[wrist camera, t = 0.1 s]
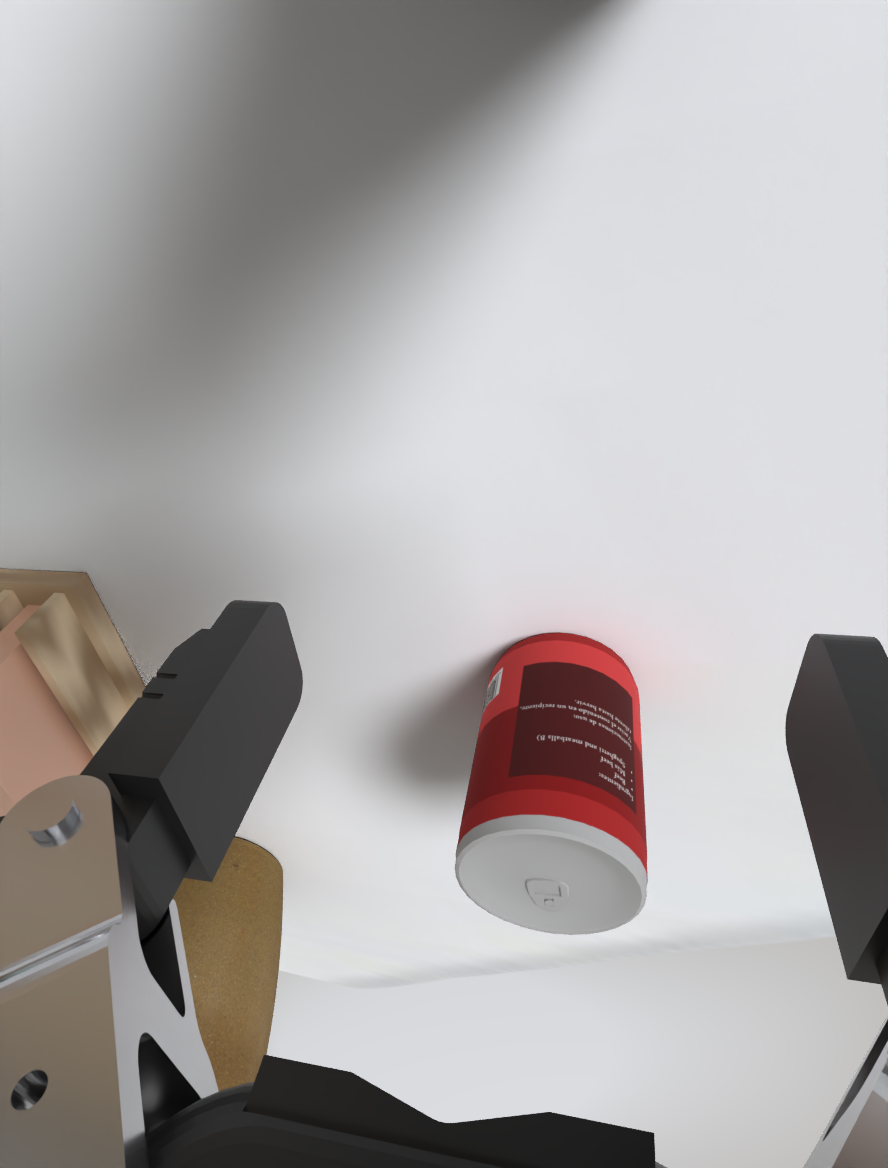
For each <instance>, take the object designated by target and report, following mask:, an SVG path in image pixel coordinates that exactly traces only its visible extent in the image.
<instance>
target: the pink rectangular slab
mask: <svg viewBox="0 0 888 1168" xmlns="http://www.w3.org/2000/svg"><path fill="white" fill-rule="evenodd" d="M39 607H40V606H39V605H27V606H26V607H25V608H24V609H23V610H22V611H21V612H20V613H19V614H18V615H17V616H16V617H15V618H14V619H13V620H12V621H11V622H10V623H9V624H8V625H7V626H6V627H5V628H4V629H3V630H2V631H1V632H0V817H1V816H6V815H7V813H8V812H9V811H10V810H11V809H12V808H13V807H14V806H15V804H16V803H18V802H19V801H20V800H21V799H22V798H24V797H25V796H26V795H28V794H29V793H30V792H32V791H33V790H35V789H37V788H39V787H40V786H42V785H44V784H46V783H49V782H51V781H53V780H56V779H59V778H63V777H67V776H73V775H80V773H81V772H82V771H83V770H84V769H85V767H86V766H87V765H88V763H89V762H90V761H91V759H92V758H93V757H94V756H93V754H92V753H91V751H90V750H89V748H88V747H87V745H86V744H85V742H84V740H83V739H82V737H81V736H80V734H79V733H78V731H77V730H76V728H75V726H74V725H73V723H72V722H71V720H70V719H69V717H68V716H67V714H66V712H65V711H64V709H63V708H62V706H61V705H60V703H59V702H58V700H57V698H56V697H55V695H54V694H53V692H52V691H51V689H50V688H49V686H48V684H47V683H46V681H45V680H44V678H43V677H42V675H41V674H40V672H39V670H38V669H37V667H36V666H35V664H34V663H33V661H32V660H31V658H30V656H29V655H28V653H27V652H26V650H25V649H24V647H23V646H22V644H21V642H20V641H19V639H18V638H17V636H16V635H15V632H16V631H17V630H18V629H19V627H20V626H21V625H22V624H23V623H24V622H25V621H26V620H27V619H28V618H29V617H30V616H31V615H32V614H33V613H34V612H35V611H36V610H37V609H38V608H39Z"/></svg>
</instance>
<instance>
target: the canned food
mask: <svg viewBox="0 0 888 1168" xmlns="http://www.w3.org/2000/svg"><path fill="white" fill-rule="evenodd" d="M455 872H456V878H457V880H458V882H459V885H460V887H461V888H462V889H463V891H464V892H465V893H466V895H467V896H468V897H469V898H470V899H471V900H473V901H474V902H475V903H476V904H477V905H478V906H480V907H481V908H483V909H484V910H486V911H487V912H489V913H490V914H493V915H495V916H497V917H499V918H501V919H503V920H505V921H507V922H510V923H513V924H516V925H518V926H521V927H525V928H528V929H532V930H536V931H542V932H548V933H554V934H569V935H573V934H591V933H598V932H604V931H607V930H611V929H614V928H617V927H619V926H621V925H623V924H626V923H628V922H629V921H631V920H632V919H633V918H634V917H636V916H637V915H638V914H639V913H640V911H641V910H642V908H643V907H644V904H645V900H646V896H647V894H646V887H647V883H648V879H647V845H646V825H645V804H644V784H643V764H642V744H641V724H640V704H639V694H638V688H637V686H636V683H635V681H634V679H633V676H632V674H631V672H630V670H629V668H628V666H627V665H626V664H625V662H624V661H623V660H622V658H621V657H619V656H618V655H617V654H616V653H615V652H614V651H613V650H611V649H610V648H608V647H607V646H605V645H603V644H602V643H600V642H597V641H595V640H593V639H590V638H588V637H584V636H579V635H575V634H567V633H548V634H541V635H537V636H532V637H529V638H527V639H524V640H522V641H520V642H518V643H516V644H515V645H514V646H512V647H511V648H509V649H508V650H507V651H506V652H505V653H504V654H503V656H502V657H501V658H500V660H499V661H498V663H497V664H496V666H495V668H494V669H493V671H492V673H491V675H490V679H489V683H488V687H487V692H486V698H485V703H484V708H483V713H482V718H481V723H480V728H479V734H478V739H477V744H476V749H475V754H474V759H473V765H472V770H471V775H470V780H469V785H468V790H467V795H466V801H465V806H464V811H463V816H462V821H461V826H460V833H459V840H458V845H457V850H456V864H455Z"/></svg>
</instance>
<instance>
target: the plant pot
mask: <svg viewBox="0 0 888 1168" xmlns="http://www.w3.org/2000/svg"><path fill="white" fill-rule="evenodd" d="M173 899H174V901H175V902H176V906H177V910H178V915H179V921H180V927H181V933H182V938H183V944H184V950H185V956H186V962H187V967H188V973H189V979H190V985H191V990H192V996H193V1002H194V1008H195V1014H196V1019H197V1024H198V1028H199V1032H200V1035H201V1038H202V1041H203V1044H204V1047H205V1049H206V1052H207V1054H208V1057H209V1059H210V1062H211V1065H212V1069H213V1072H214V1075H215V1079H216V1083H217V1087H218V1091H221V1090H224V1089H227V1088H231V1087H234V1086H238V1085H241V1084H245V1083H250V1082H255V1079H256V1076H257V1073H258V1070H259V1067H260V1065H261V1062H262V1059H263V1056H264V1055H266V1054H267V1048H268V1042H269V1036H270V1031H271V1023H272V1017H273V1010H274V1003H275V995H276V988H277V979H278V970H279V959H280V947H281V933H282V910H283V870H282V867H281V865H280V863H279V862H278V860H277V859H276V858H275V857H274V856H272V855H271V854H270V853H269V852H267V851H266V850H264V849H263V848H261V847H259V846H258V845H256V844H253V843H251V842H249V841H246V840H243V839H240V838H236V837H234V838H233V840H232V842H231V844H230V846H229V848H228V850H227V852H226V854H225V856H224V859H223V861H222V863H221V865H220V867H219V869H218V871H217V873H216V875H215V877H214V879H213V881H212V882H208V881H201V880H194V879H187V878H183V880H182V882H181V884H180V886H179V888H178V889H177V891H176V893H175V895H174V897H173Z"/></svg>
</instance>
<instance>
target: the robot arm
mask: <svg viewBox="0 0 888 1168" xmlns="http://www.w3.org/2000/svg"><path fill="white" fill-rule="evenodd" d="M302 685H303V678H302V670H301V666H300V663H299V659H298V655H297V652H296V648H295V645H294V641H293V638H292V634H291V631H290V627H289V623H288V620H287V616H286V613H285V610H284V608H283V607H282V605H281V604H279V603H277V602H260V601H242V600H234V601H232V602H231V603H229V604H228V605H227V607H226V608H225V609H224V611H223V612H222V613H221V615H220V616H219V618H218V619H217V620H216V622H215V623H214V625H213V626H212V627H211V629H201V630H199V631H198V632H197V633H195V634H194V635H193V636H191V637H190V638H189V639H187V640H186V641H185V642H183V643H182V644H181V645H179V646H178V647H176V648H175V649H174V650H173V652H172V653H171V654H170V656H169V657H168V658H167V660H166V661H165V662H164V664H163V665H162V666H161V668H160V669H159V670H158V672H157V677H156V678H155V677H153V678H152V680H151V681H150V682H149V684H148V685H147V686H146V688H145V689H144V690H143V692H142V697H138V698H137V700H136V701H135V702H134V704H133V705H132V706H131V707H130V709H129V710H128V711H127V713H126V714H125V715H124V717H123V718H122V719H121V721H120V722H119V723H118V725H117V726H116V727H115V729H114V730H113V731H112V733H111V734H110V735H109V737H108V738H107V739H106V741H105V742H104V743H103V745H102V746H101V747H100V749H99V750H98V751H97V753H96V754H95V755H94V757H93V758H92V759H91V761H90V762H89V763H88V765H87V766H86V767H85V769H84V770H83V771H82V772H81V773H80V775H73V776H67V777H63V778H59V779H56V780H53V781H51V782H49V783H46V784H44V785H42V786H40V787H39V788H37V789H35V790H33V791H32V792H30V793H29V794H28V795H26V796H25V797H24V798H22V799H21V800H20V801H19V802H18V803H16V804H15V806H14V807H13V808H12V809H11V810H10V811H9V812H8V813H7V815H6V816H1V817H0V1168H666V1167H664V1166H663V1165H661V1164H659V1163H657V1162H656V1161H655V1146H654V1133H651V1132H646V1131H641V1130H636V1129H631V1128H626V1127H621V1126H616V1125H611V1124H606V1123H601V1122H596V1121H591V1120H586V1119H581V1118H576V1117H572V1116H566V1115H562V1114H557V1113H552V1112H545V1113H537V1114H529V1115H520V1116H511V1117H502V1118H494V1119H485V1120H476V1121H468V1122H459V1123H443V1122H438V1121H436V1120H434V1119H432V1118H430V1117H428V1116H427V1115H425V1114H423V1113H421V1112H420V1111H418V1110H416V1109H415V1108H413V1107H411V1106H409V1105H408V1104H406V1103H404V1102H402V1101H401V1100H399V1099H397V1098H395V1097H394V1096H392V1095H390V1094H388V1093H387V1092H385V1091H383V1090H381V1089H380V1088H378V1087H376V1086H374V1085H373V1084H371V1083H369V1082H367V1081H366V1080H364V1079H362V1078H360V1077H359V1076H357V1075H355V1074H354V1073H351V1072H348V1071H343V1070H337V1069H333V1068H327V1067H322V1066H318V1065H312V1064H307V1063H302V1062H298V1061H293V1060H287V1059H282V1058H277V1057H273V1056H268V1055H264V1056H263V1059H262V1062H261V1065H260V1067H259V1070H258V1073H257V1076H256V1079H255V1082H250V1083H245V1084H241V1085H238V1086H234V1087H231V1088H227V1089H224V1090H221V1091H218V1087H217V1083H216V1079H215V1075H214V1072H213V1069H212V1065H211V1062H210V1059H209V1057H208V1054H207V1052H206V1049H205V1047H204V1044H203V1041H202V1038H201V1035H200V1032H199V1028H198V1024H197V1019H196V1014H195V1008H194V1002H193V996H192V990H191V985H190V979H189V973H188V967H187V962H186V956H185V950H184V944H183V938H182V933H181V927H180V921H179V915H178V910H177V906H176V902H175V901H174V899H173V897H174V895H175V893H176V891H177V889H178V888H179V886H180V884H181V882H182V880H183V878H187V879H194V880H201V881H208V882H212V881H213V879H214V877H215V875H216V873H217V871H218V869H219V867H220V865H221V863H222V861H223V859H224V856H225V854H226V852H227V850H228V848H229V846H230V844H231V842H232V840H233V838H234V836H235V834H236V832H237V830H238V828H239V826H240V824H241V822H242V820H243V818H244V816H245V814H246V812H247V810H248V808H249V805H250V803H251V801H252V799H253V797H254V795H255V793H256V791H257V789H258V787H259V785H260V783H261V781H262V779H263V777H264V775H265V773H266V771H267V769H268V767H269V765H270V763H271V761H272V759H273V757H274V755H275V752H276V750H277V748H278V746H279V744H280V742H281V740H282V738H283V736H284V734H285V732H286V730H287V728H288V726H289V724H290V722H291V720H292V718H293V716H294V714H295V712H296V710H297V707H298V705H299V702H300V698H301V694H302ZM786 745H787V751H788V755H789V759H790V763H791V767H792V770H793V774H794V778H795V782H796V785H797V789H798V793H799V797H800V801H801V804H802V808H803V812H804V816H805V820H806V823H807V827H808V831H809V835H810V839H811V842H812V846H813V850H814V854H815V858H816V861H817V865H818V869H819V873H820V877H821V880H822V884H823V888H824V892H825V896H826V899H827V903H828V907H829V911H830V915H831V918H832V922H833V926H834V930H835V933H836V937H837V941H838V945H839V948H840V952H841V956H842V960H843V964H844V967H845V971H846V975H847V979H850V980H856V981H863V982H870V983H877V984H882V988H883V991H884V994H885V998H886V1001H887V1004H888V657H887V655H886V653H885V651H884V649H883V647H882V645H881V643H880V642H879V640H878V639H876V638H875V637H865V636H847V635H829V634H814V635H813V636H812V637H811V638H810V640H809V642H808V644H807V647H806V651H805V654H804V657H803V660H802V664H801V667H800V670H799V674H798V677H797V680H796V683H795V687H794V690H793V693H792V697H791V700H790V703H789V707H788V711H787V716H786ZM803 1168H888V1016H887V1018H886V1019H885V1021H884V1022H883V1024H882V1026H881V1028H880V1030H879V1032H878V1034H877V1035H876V1037H875V1039H874V1041H873V1043H872V1044H871V1046H870V1048H869V1050H868V1052H867V1054H866V1056H865V1057H864V1059H863V1061H862V1063H861V1064H860V1066H859V1068H858V1070H857V1072H856V1074H855V1076H854V1077H853V1079H852V1081H851V1083H850V1085H849V1086H848V1088H847V1090H846V1092H845V1094H844V1096H843V1098H842V1099H841V1101H840V1103H839V1105H838V1107H837V1108H836V1110H835V1112H834V1114H833V1116H832V1117H831V1119H830V1121H829V1123H828V1125H827V1127H826V1129H825V1130H824V1132H823V1134H822V1136H821V1138H820V1140H819V1141H818V1143H817V1145H816V1147H815V1148H814V1150H813V1152H812V1153H811V1155H810V1157H809V1159H808V1160H807V1162H806V1164H805V1165H804V1167H803Z"/></svg>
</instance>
